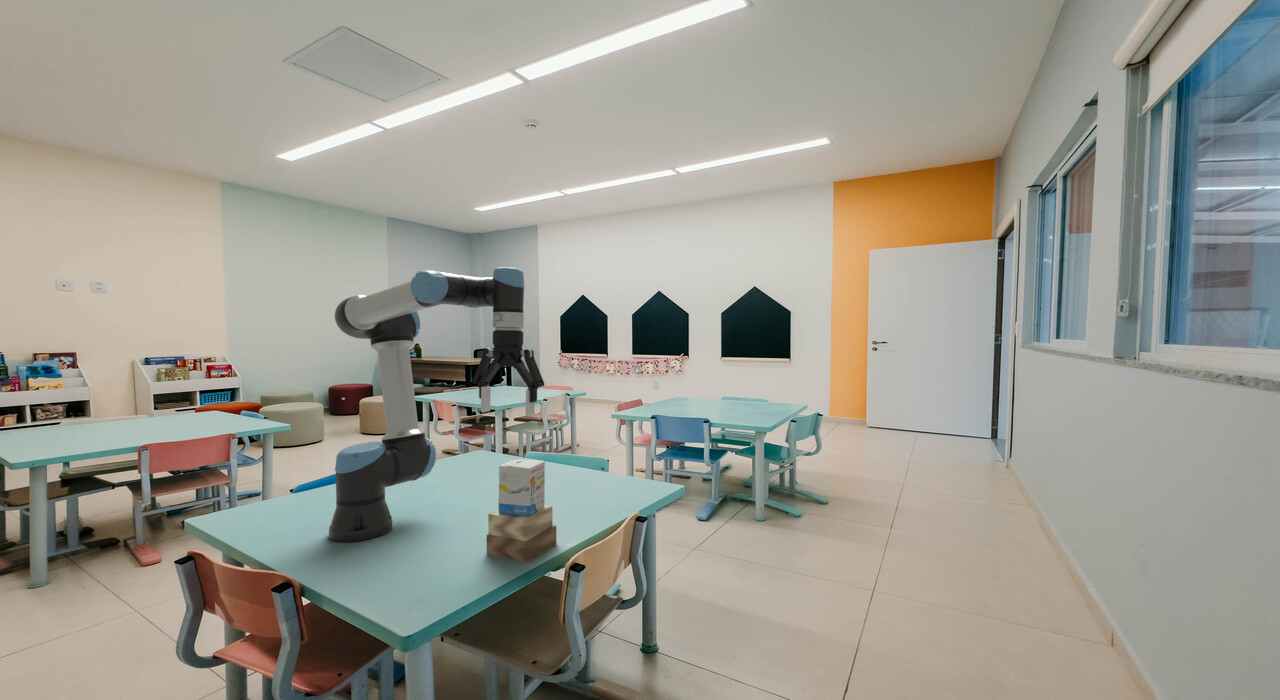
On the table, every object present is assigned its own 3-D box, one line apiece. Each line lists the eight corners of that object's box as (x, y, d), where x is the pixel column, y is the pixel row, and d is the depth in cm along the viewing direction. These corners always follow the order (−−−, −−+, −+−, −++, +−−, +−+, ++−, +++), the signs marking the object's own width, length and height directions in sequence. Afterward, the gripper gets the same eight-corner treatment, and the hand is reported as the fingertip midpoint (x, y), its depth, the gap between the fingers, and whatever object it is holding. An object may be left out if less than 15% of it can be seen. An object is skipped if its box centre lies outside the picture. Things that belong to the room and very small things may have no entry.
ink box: (529, 517, 120) (529, 467, 120) (497, 513, 123) (497, 465, 123) (545, 506, 129) (546, 460, 129) (515, 503, 131) (516, 457, 131)
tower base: (486, 555, 123) (486, 534, 123) (517, 538, 134) (517, 519, 134) (527, 564, 118) (527, 542, 118) (556, 545, 129) (556, 525, 129)
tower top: (488, 534, 123) (488, 513, 123) (517, 520, 133) (516, 501, 133) (525, 541, 119) (525, 520, 119) (552, 526, 129) (552, 506, 129)
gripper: (458, 328, 130) (457, 411, 130) (542, 329, 120) (540, 419, 121) (478, 329, 137) (477, 408, 137) (558, 330, 127) (557, 414, 128)
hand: (507, 413), depth 129 cm, fingers open, 13 cm apart
